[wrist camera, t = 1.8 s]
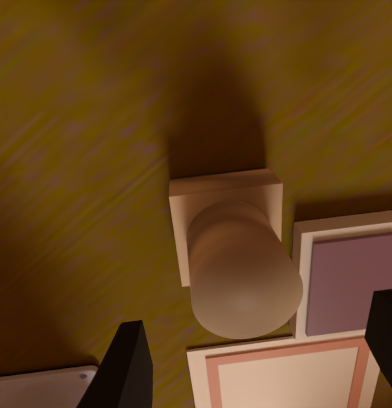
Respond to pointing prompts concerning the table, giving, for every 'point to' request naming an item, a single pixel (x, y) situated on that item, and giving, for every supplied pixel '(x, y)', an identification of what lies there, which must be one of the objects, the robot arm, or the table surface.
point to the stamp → (234, 251)
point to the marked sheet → (285, 373)
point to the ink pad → (340, 272)
